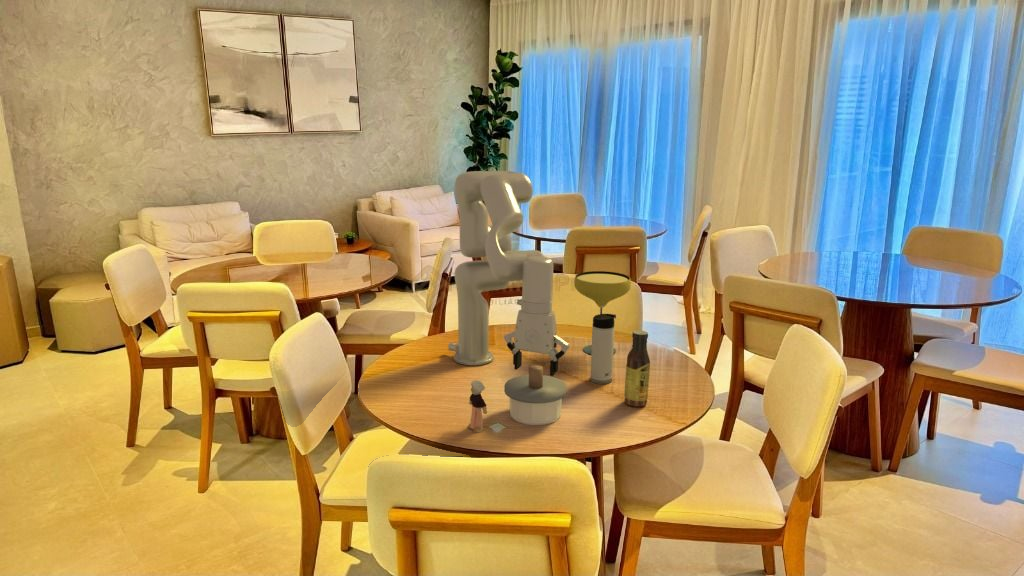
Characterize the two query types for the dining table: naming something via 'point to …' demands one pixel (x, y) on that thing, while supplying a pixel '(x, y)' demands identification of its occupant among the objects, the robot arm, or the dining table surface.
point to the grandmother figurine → (477, 406)
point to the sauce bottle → (637, 371)
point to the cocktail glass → (601, 289)
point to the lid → (535, 387)
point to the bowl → (535, 412)
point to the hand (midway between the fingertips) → (535, 370)
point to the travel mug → (602, 348)
